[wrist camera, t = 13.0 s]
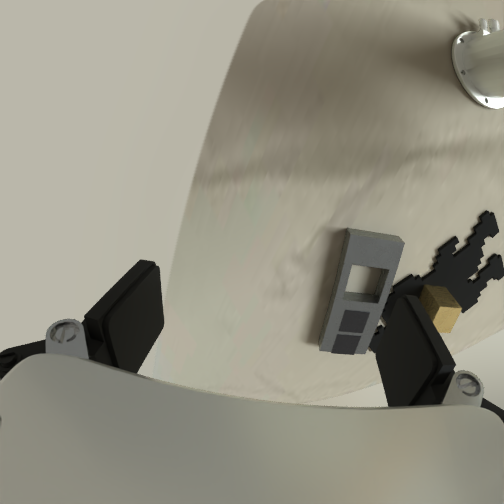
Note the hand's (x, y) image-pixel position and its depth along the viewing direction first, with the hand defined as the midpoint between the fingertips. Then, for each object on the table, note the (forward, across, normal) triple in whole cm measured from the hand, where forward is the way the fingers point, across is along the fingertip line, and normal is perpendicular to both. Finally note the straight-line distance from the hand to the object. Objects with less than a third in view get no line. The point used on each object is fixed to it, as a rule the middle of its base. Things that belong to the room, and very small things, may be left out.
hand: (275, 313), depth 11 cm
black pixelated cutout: (+29, -28, +14) cm, 42 cm away
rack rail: (+28, -13, +15) cm, 35 cm away
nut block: (+28, -26, +14) cm, 41 cm away
